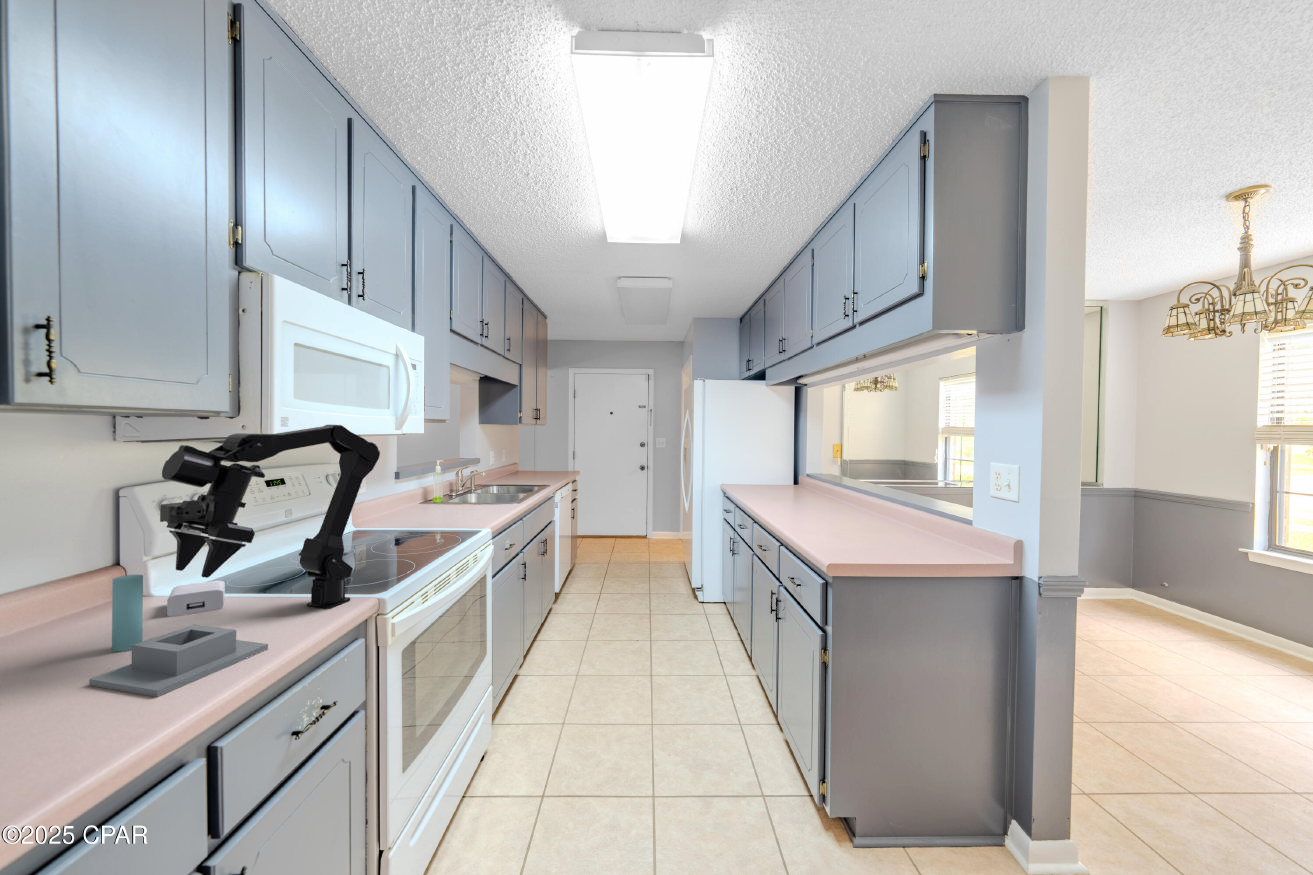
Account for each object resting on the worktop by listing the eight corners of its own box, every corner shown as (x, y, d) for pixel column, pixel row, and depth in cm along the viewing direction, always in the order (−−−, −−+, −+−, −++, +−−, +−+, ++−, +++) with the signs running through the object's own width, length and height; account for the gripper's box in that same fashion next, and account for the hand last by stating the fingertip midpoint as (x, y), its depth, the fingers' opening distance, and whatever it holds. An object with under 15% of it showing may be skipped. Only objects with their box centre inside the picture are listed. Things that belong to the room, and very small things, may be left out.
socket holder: (208, 641, 101) (208, 615, 100) (267, 649, 98) (268, 622, 97) (89, 685, 83) (89, 653, 83) (157, 696, 80) (157, 664, 80)
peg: (132, 641, 99) (132, 573, 99) (148, 644, 99) (148, 575, 98) (105, 650, 95) (106, 579, 95) (122, 652, 95) (123, 581, 94)
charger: (225, 592, 130) (222, 609, 118) (175, 599, 124) (167, 618, 112) (226, 573, 130) (223, 588, 118) (175, 579, 124) (167, 596, 112)
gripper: (153, 479, 101) (114, 561, 96) (205, 486, 93) (166, 575, 88) (217, 494, 110) (184, 569, 105) (270, 501, 102) (237, 582, 98)
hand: (191, 573), depth 99 cm, fingers open, 9 cm apart
